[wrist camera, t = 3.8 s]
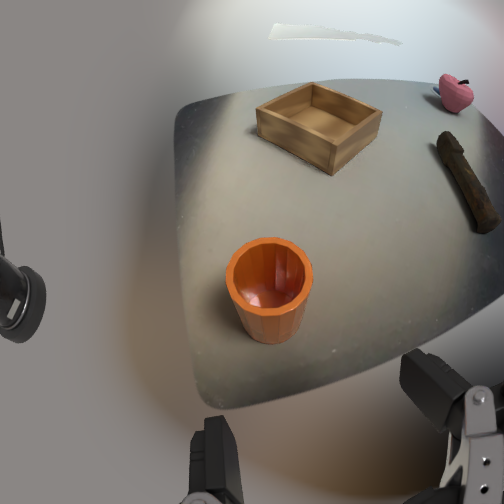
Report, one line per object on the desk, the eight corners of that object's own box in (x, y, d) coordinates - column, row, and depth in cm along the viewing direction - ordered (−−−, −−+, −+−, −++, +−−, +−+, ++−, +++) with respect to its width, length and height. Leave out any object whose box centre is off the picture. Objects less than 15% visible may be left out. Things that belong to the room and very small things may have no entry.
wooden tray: (257, 135, 39) (255, 108, 35) (310, 105, 44) (311, 81, 39) (332, 176, 34) (337, 146, 29) (376, 137, 38) (382, 111, 34)
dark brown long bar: (492, 236, 27) (508, 216, 23) (475, 235, 27) (491, 214, 23) (447, 148, 37) (455, 128, 33) (430, 144, 37) (438, 124, 33)
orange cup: (229, 316, 26) (208, 275, 18) (270, 277, 27) (267, 223, 20) (272, 356, 23) (270, 334, 16) (313, 313, 25) (330, 271, 17)
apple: (452, 102, 46) (461, 71, 38) (472, 122, 42) (484, 89, 33) (426, 97, 46) (435, 63, 38) (447, 118, 42) (459, 81, 33)
